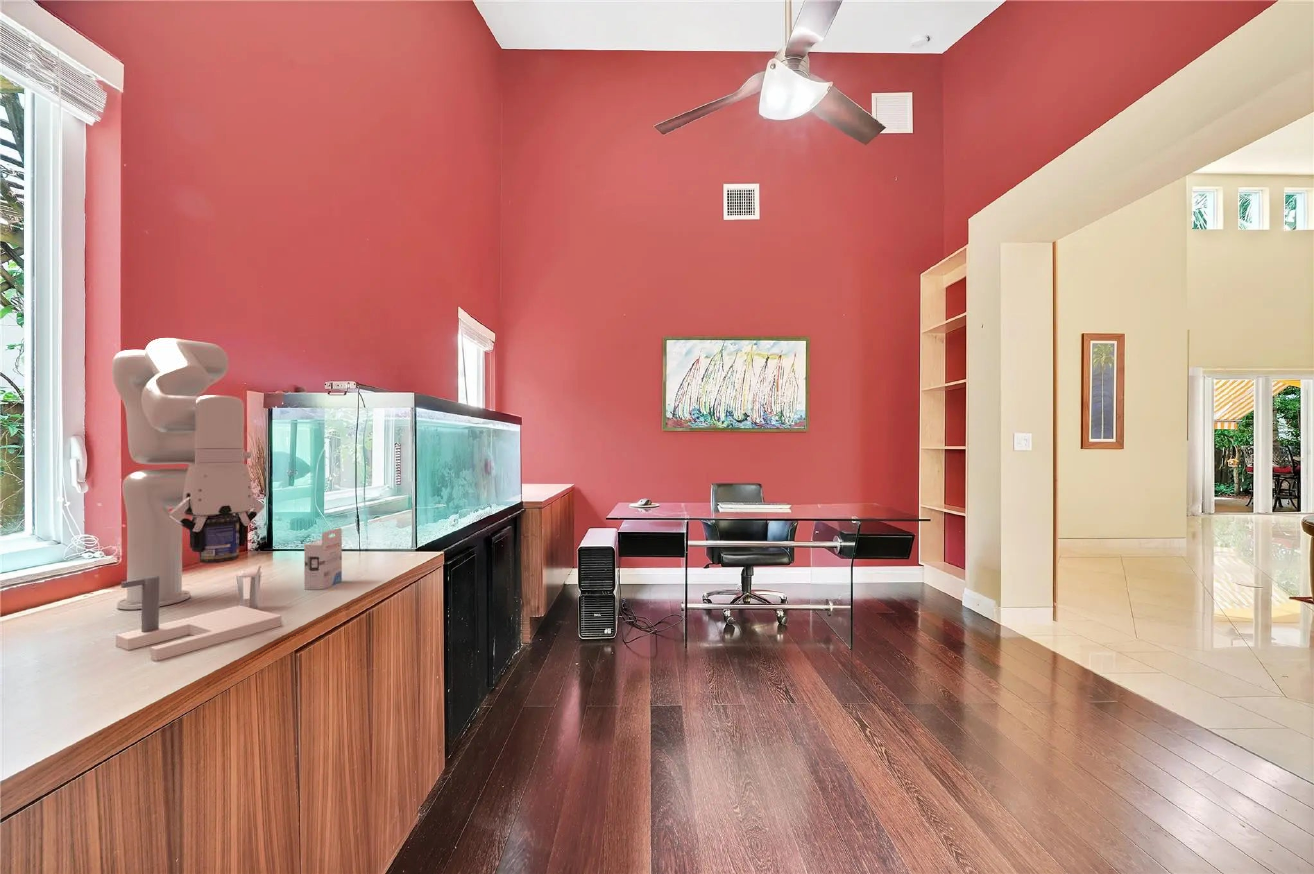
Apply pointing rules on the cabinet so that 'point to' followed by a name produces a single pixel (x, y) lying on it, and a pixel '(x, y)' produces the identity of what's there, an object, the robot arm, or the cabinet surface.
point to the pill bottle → (221, 537)
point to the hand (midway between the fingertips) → (219, 547)
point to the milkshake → (249, 587)
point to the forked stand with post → (189, 625)
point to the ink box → (323, 561)
